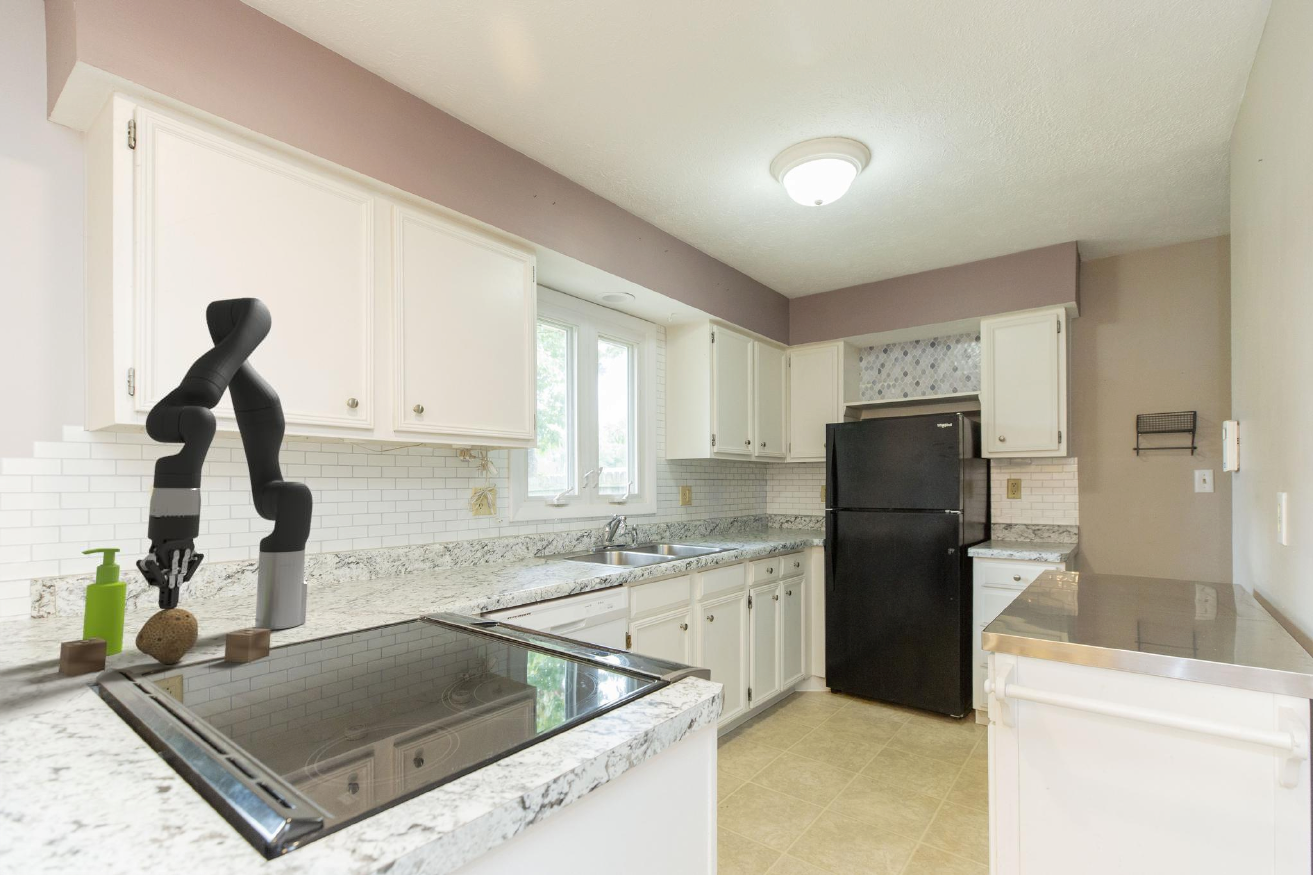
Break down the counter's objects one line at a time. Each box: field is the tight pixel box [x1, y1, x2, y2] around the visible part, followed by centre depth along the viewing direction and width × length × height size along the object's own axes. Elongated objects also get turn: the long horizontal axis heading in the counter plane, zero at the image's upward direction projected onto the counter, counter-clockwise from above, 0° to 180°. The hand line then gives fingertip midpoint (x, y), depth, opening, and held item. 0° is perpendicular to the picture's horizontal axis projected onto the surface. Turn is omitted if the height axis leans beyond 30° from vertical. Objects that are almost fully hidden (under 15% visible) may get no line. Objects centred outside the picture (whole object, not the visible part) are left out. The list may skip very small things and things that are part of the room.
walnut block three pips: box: [58, 637, 107, 678], centre depth 111 cm, size 5×5×5 cm
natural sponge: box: [135, 607, 199, 665], centre depth 115 cm, size 9×9×10 cm
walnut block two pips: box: [224, 627, 272, 664], centre depth 119 cm, size 5×5×5 cm
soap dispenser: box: [81, 547, 128, 657], centre depth 122 cm, size 6×7×20 cm
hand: (167, 608), depth 116 cm, fingers closed
